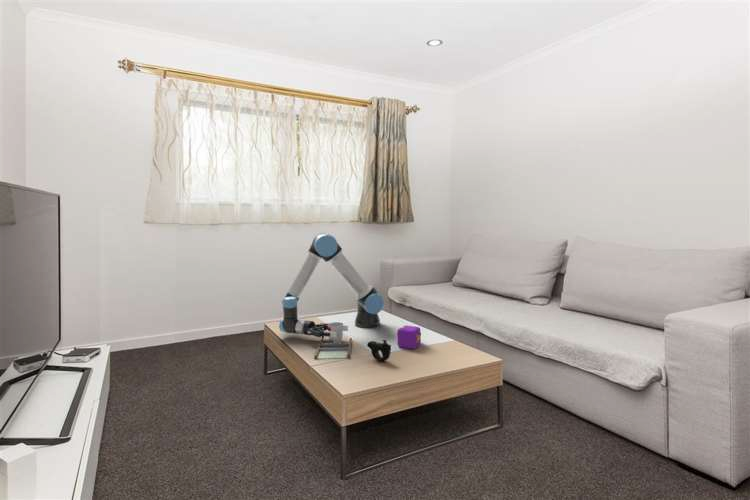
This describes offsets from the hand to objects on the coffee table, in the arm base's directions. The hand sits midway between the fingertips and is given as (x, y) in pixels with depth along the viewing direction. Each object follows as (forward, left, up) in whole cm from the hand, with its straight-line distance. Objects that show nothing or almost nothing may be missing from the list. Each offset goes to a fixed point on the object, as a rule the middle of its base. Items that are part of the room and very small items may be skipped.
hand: (342, 331), depth 214 cm
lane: (+3, +8, -6) cm, 11 cm away
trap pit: (+3, +7, -6) cm, 10 cm away
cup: (+3, -2, -7) cm, 8 cm away
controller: (-19, +25, -7) cm, 32 cm away
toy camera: (-35, +4, -7) cm, 35 cm away
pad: (+3, +16, -6) cm, 18 cm away
